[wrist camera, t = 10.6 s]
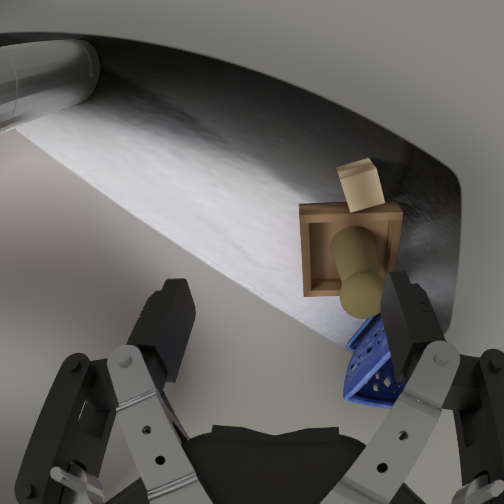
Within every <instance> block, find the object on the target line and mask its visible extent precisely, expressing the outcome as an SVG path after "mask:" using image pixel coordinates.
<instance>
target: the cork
mask: <svg viewBox="0 0 504 504" xmlns="http://www.w3.org/2000/svg"><path fill="white" fill-rule="evenodd" d="M330 250H331V253H332V256H333V259H334V261H335V264H336V267H337V270H338V273H339V275H340V278H341V281H342V284H343V285H342V287H341V291H340V301H341V304H342V307H343V309H344V310H345V311H346V312H347V313H348V314H349V315H351V316H353V317H355V318H360V319H363V318H370V317H373V316H375V315H377V314H379V313H380V312H381V310H380V304H381V298H382V292H383V287H384V282H385V281H384V279H383V278H382V277H381V276H380V272H379V262H378V253H377V245H376V240H375V237H374V235H373V234H372V232H371V231H369V230H368V229H367V228H365V227H361V226H349V227H346V228H343V229H342V230H340V231H338V232H337V233H336V235H335V236H334V237H333V239H332V241H331V248H330Z"/></svg>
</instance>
